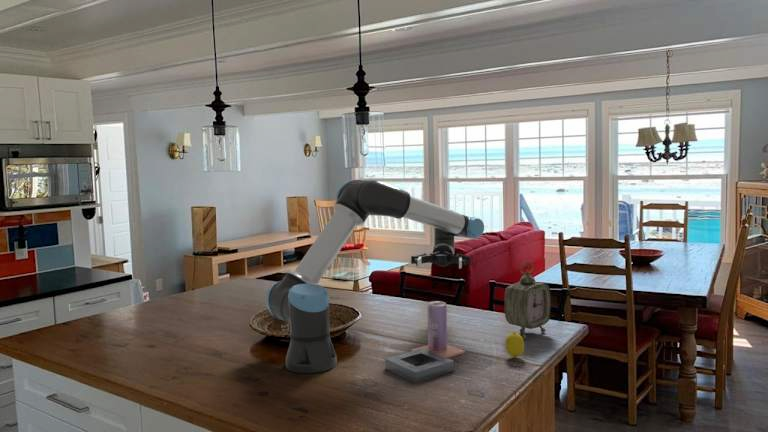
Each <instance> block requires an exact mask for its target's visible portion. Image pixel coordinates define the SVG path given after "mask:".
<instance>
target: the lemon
mask: <svg viewBox="0 0 768 432" xmlns="http://www.w3.org/2000/svg"><path fill="white" fill-rule="evenodd" d="M521 336H522V334H519V333H517V332H516V331H513V332H511V333H509V334H508V336H506V339H505V343H504V346H505V350H506V353H507V354H508V355H509V356H511V357H512V358H513V359H517V358H518V357H519V356H521V355H522V354H523V353H524V349H525V341H524V339H523V338H522V337H521Z"/></svg>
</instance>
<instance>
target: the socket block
mask: <svg viewBox="0 0 768 432" xmlns="http://www.w3.org/2000/svg"><path fill="white" fill-rule="evenodd" d="M384 359H385V360H384V363H385V364H384V365H385V366H384V367H385V370H388V371H389V372H391V373H393V374H395V375H398V376H400V377H402V378H404V379H407V380H408V381H410V382H413V383H415V384H418V383H421V382H423V381H426V380H429V379H433V378H436V377H440V376H443V375H445V374H446V375H447V374H448V373H453V372H454V371H455V361H454V360H453V359H451V358H446V357H443V356H441V355H438V354H436V353H433V352H430V351H428V350H425V349H423V348H422V349H418V350H415V351H411V350H410V351H408V352H404V353H400V354H398V355H392V356H389V357H386V358H384ZM418 364H421V365H418ZM416 365H418V366H416Z"/></svg>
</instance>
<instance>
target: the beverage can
mask: <svg viewBox="0 0 768 432" xmlns="http://www.w3.org/2000/svg"><path fill="white" fill-rule="evenodd" d="M426 309H427V311H426V312H427V345H428V349H429V350H430V351H431V352H434V353H442V352H445V351H446V350H447V345H448V316H447V315H448V314H447V312H448V311H447V310H448V309H447V303H446V302H445V301H441V300H432V301H429V302H428V303H427V307H426Z"/></svg>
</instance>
